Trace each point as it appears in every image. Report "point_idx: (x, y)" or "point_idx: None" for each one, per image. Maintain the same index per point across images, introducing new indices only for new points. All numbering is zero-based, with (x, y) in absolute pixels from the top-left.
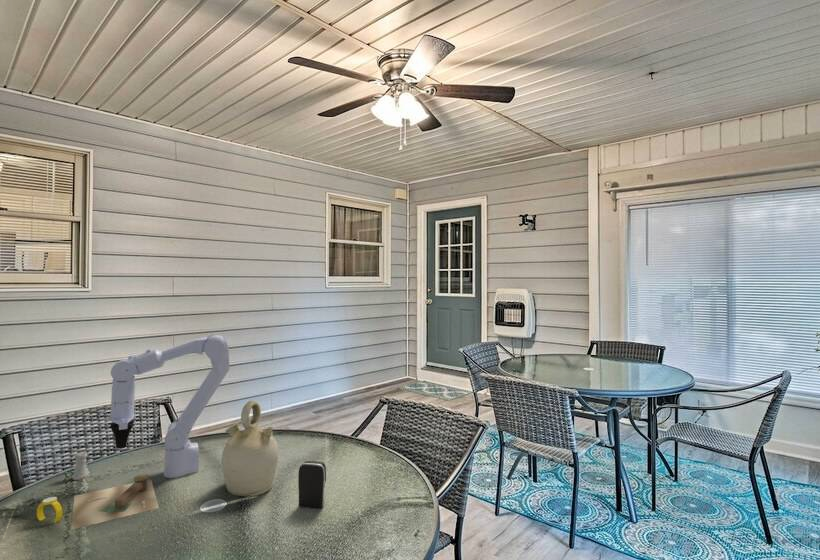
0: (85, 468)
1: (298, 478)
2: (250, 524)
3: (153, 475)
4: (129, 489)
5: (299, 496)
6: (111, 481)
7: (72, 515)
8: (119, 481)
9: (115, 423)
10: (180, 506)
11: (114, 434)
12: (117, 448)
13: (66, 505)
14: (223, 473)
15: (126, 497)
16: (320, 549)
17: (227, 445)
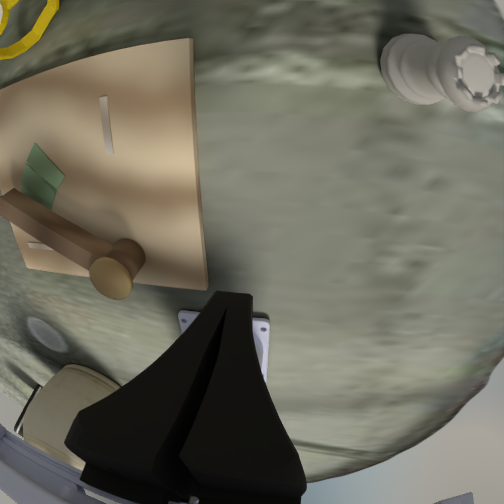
0: (421, 87)
1: (21, 413)
2: (2, 338)
3: (268, 298)
4: (49, 235)
5: (31, 395)
6: (307, 171)
7: (35, 75)
8: (285, 198)
9: (242, 490)
10: (45, 298)
11: (134, 379)
12: (213, 294)
13: (143, 24)
14: (61, 392)
15: (16, 223)
16: None
17: (38, 442)
